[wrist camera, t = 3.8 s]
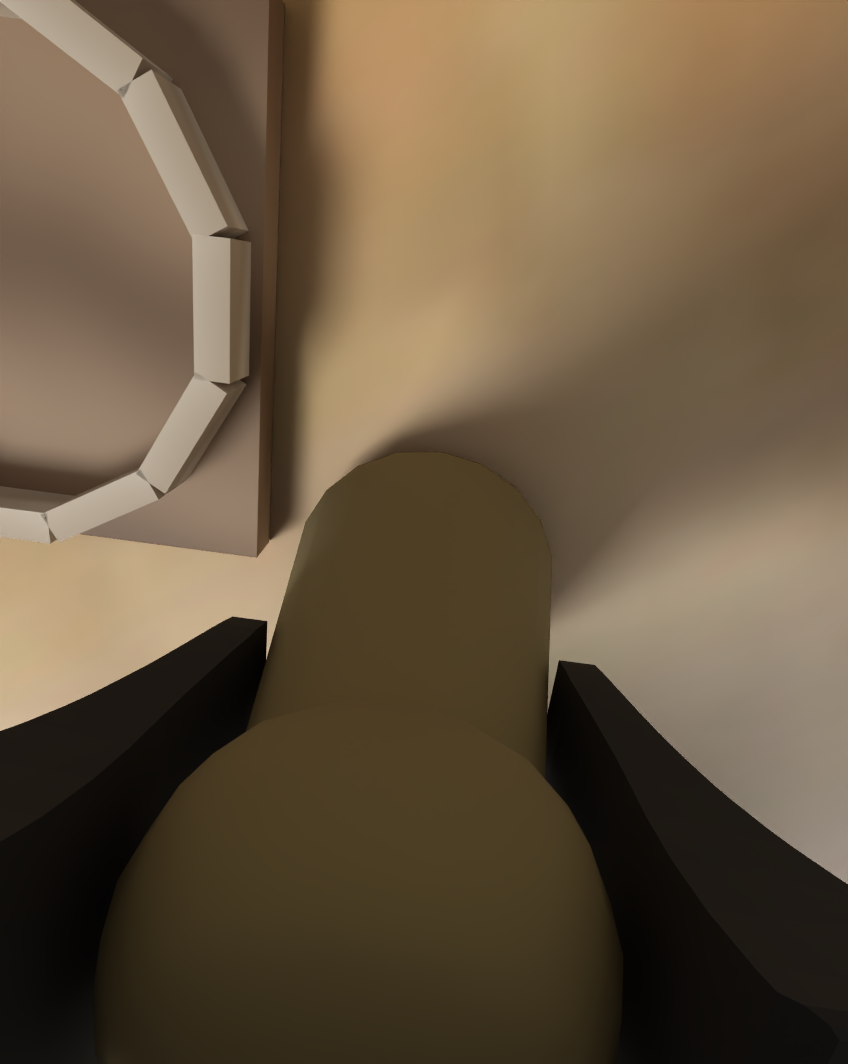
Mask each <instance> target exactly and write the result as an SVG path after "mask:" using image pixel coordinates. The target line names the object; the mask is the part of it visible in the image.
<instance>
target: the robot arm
mask: <svg viewBox="0 0 848 1064" xmlns="http://www.w3.org/2000/svg"><path fill="white" fill-rule="evenodd" d="M266 643H267V621H261V620H254V619H246V618H239V617H231V618H229V619H227V620H225V621H223V622H221V623H219V624H218V625H216V626H214V627H212V628H211V629H209V630H207V631H205V632H204V633H202V634H200V635H199V636H197V637H195V638H194V639H192V640H190V641H189V642H187V643H185V644H183V645H182V646H180V647H178V648H176V649H175V650H173V651H171V652H169V653H168V654H166V655H164V656H162V657H161V658H159V659H157V660H156V661H154V662H152V663H150V664H148V665H147V666H145V667H143V668H141V669H139V670H137V671H135V672H133V673H131V674H129V675H127V676H125V677H123V678H121V679H120V680H118V681H116V682H114V683H112V684H110V685H108V686H106V687H104V688H102V689H100V690H98V691H96V692H94V693H92V694H90V695H88V696H86V697H84V698H81V699H79V700H77V701H75V702H72V703H70V704H68V705H66V706H63V707H61V708H59V709H56V710H54V711H51V712H49V713H47V714H44V715H42V716H39V717H37V718H34V719H32V720H29V721H27V722H24V723H22V724H19V725H16V726H14V727H11V728H8V729H5V730H2V731H0V1064H98V1061H97V1058H96V1055H95V1041H94V1017H93V986H94V979H95V972H96V966H97V959H98V952H99V945H100V938H101V935H102V931H103V928H104V925H105V921H106V918H107V914H108V911H109V907H110V904H111V900H112V897H113V893H114V890H115V886H116V883H117V880H118V879H119V877H120V875H121V874H122V872H123V870H124V869H125V867H126V865H127V864H128V862H129V861H130V859H131V857H132V856H133V854H134V852H135V851H136V849H137V847H138V846H139V844H140V842H141V841H142V839H143V837H144V836H145V834H146V833H147V831H148V830H149V828H150V827H151V825H152V824H153V822H154V821H155V820H156V818H157V817H158V815H159V814H160V812H161V811H162V809H163V808H164V807H165V805H166V804H167V802H168V801H169V799H170V798H171V796H172V795H173V794H174V792H175V791H176V789H177V788H178V786H179V785H180V784H181V783H182V782H183V781H184V780H185V779H186V778H187V777H189V776H190V775H191V774H192V773H193V772H194V771H195V770H196V769H197V768H198V767H199V766H200V765H201V764H202V763H203V762H204V761H206V760H207V759H208V758H209V757H210V756H211V755H212V754H213V753H215V752H216V751H218V750H219V749H221V748H222V747H224V746H225V745H227V744H228V743H230V742H231V741H233V740H234V739H236V738H237V737H239V736H240V735H242V734H243V733H245V732H246V730H247V726H248V723H249V719H250V716H251V712H252V709H253V705H254V702H255V698H256V695H257V691H258V688H259V684H260V681H261V677H262V674H263V670H264V667H265V663H266ZM545 780H546V781H547V782H548V783H549V784H550V786H551V787H552V788H553V789H554V790H555V791H556V792H557V794H558V795H559V796H560V797H561V798H562V799H563V801H564V802H565V803H566V804H567V805H568V807H569V808H570V810H571V812H572V814H573V816H574V817H575V819H576V821H577V823H578V825H579V826H580V828H581V830H582V832H583V834H584V836H585V837H586V839H587V841H588V843H589V845H590V847H591V849H592V852H593V855H594V858H595V861H596V864H597V866H598V869H599V872H600V875H601V878H602V881H603V883H604V886H605V889H606V892H607V895H608V898H609V900H610V903H611V908H612V912H613V916H614V920H615V924H616V928H617V932H618V936H619V941H620V945H621V949H622V953H623V992H622V1020H621V1029H620V1038H619V1046H618V1055H617V1064H848V884H846V883H845V882H843V881H842V880H840V879H839V878H837V877H836V876H834V875H833V874H831V873H830V872H828V871H827V870H825V869H824V868H822V867H821V866H820V865H818V864H817V863H815V862H814V861H812V860H811V859H809V858H808V857H806V856H805V855H803V854H802V853H801V852H799V851H798V850H796V849H795V848H793V847H792V846H790V845H789V844H788V843H786V842H785V841H784V840H782V839H781V838H779V837H778V836H777V835H775V834H774V833H773V832H771V831H770V830H769V829H767V828H766V827H765V826H763V825H762V824H761V823H760V822H758V821H757V820H756V819H755V818H753V817H752V816H751V815H750V814H748V813H747V812H746V811H745V810H743V809H742V808H741V807H740V806H738V805H737V804H736V803H734V802H733V801H732V800H731V799H729V798H728V797H727V796H726V795H725V794H724V793H722V792H721V791H720V790H719V789H718V788H717V787H715V786H714V785H713V784H712V783H711V782H710V781H709V780H708V779H706V778H705V777H704V776H703V775H702V774H701V773H700V772H699V771H698V770H697V769H696V768H694V767H693V766H692V765H691V764H690V763H689V762H688V761H687V760H686V759H685V758H684V757H683V756H682V755H681V754H679V753H678V752H677V751H676V750H675V749H674V748H673V747H672V746H671V745H670V744H669V743H668V742H667V741H666V740H665V739H664V738H663V737H662V736H661V735H660V734H659V733H658V732H657V731H656V730H655V729H654V728H653V726H652V725H651V724H650V723H649V722H648V721H647V720H646V719H645V718H644V717H643V716H642V715H641V714H640V713H639V712H638V711H637V710H636V709H635V707H634V706H633V705H632V704H631V703H630V702H629V701H628V700H627V699H626V698H625V697H624V695H623V694H622V693H621V692H620V691H619V690H618V689H617V688H616V687H615V686H614V685H613V683H612V682H611V681H610V680H609V679H608V678H607V677H606V676H605V675H604V674H603V673H602V672H601V671H600V670H599V669H598V668H597V667H596V666H595V665H590V664H582V663H575V662H567V661H560V660H559V663H558V667H557V672H556V677H555V681H554V686H553V690H552V695H551V699H550V704H549V709H548V713H547V735H546V766H545Z"/></svg>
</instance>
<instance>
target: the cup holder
mask: <svg viewBox="0 0 848 1064" xmlns="http://www.w3.org/2000/svg"><path fill="white" fill-rule="evenodd" d="M284 14H285V4H284V3H283V1H282V0H0V537H4V538H12V539H19V540H27V541H34V542H42V543H49V544H50V543H52V542H54V541H55V540H58V542H61V541H64V540H66V539H68V538H71V537H73V536H75V535H78V534H83V535H90V536H98V537H105V538H113V539H120V540H128V541H135V542H143V543H150V544H158V545H166V546H173V547H181V548H188V549H196V550H203V551H211V552H218V553H226V554H233V555H241V556H248V557H256V558H257V557H258V555H259V554H260V553H261V551H262V550H263V549H264V548H265V546H266V545H267V544H268V542H269V525H270V491H271V457H272V423H273V389H274V355H275V321H276V287H277V253H278V219H279V185H280V150H281V116H282V82H283V48H284Z"/></svg>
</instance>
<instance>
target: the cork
mask: <svg viewBox="0 0 848 1064" xmlns="http://www.w3.org/2000/svg"><path fill="white" fill-rule="evenodd" d="M551 577H552V555H551V551H550V548H549V545H548V542H547V539H546V536H545V533H544V529H543V526H542V523H541V520H540V519H539V517H538V516H537V515H536V513H535V512H534V511H533V509H532V508H531V507H530V505H529V504H528V503H527V501H526V500H525V499H524V498H523V496H522V495H521V494H520V492H519V491H518V490H517V488H516V487H514V486H513V485H511V484H510V483H508V482H507V481H505V480H504V479H502V478H501V477H500V476H498V475H497V474H495V473H494V472H492V471H491V470H489V469H488V468H486V467H485V466H484V465H482V464H479V463H476V462H472V461H469V460H466V459H462V458H459V457H456V456H452V455H449V454H446V453H442V452H406V453H395V454H392V455H389V456H386V457H383V458H380V459H377V460H375V461H372V462H369V463H366V464H363V465H360V466H358V467H356V468H355V469H354V470H352V471H351V472H350V473H348V474H347V475H346V476H344V477H343V478H342V479H341V480H339V481H338V482H337V483H335V484H334V485H333V486H331V487H330V488H329V489H327V490H326V492H325V493H324V495H323V496H322V498H321V499H320V501H319V502H318V504H317V505H316V507H315V509H314V510H313V512H312V513H311V515H310V516H309V518H308V519H307V521H306V523H305V526H304V530H303V533H302V537H301V540H300V544H299V547H298V551H297V554H296V558H295V561H294V565H293V568H292V572H291V575H290V579H289V582H288V586H287V589H286V593H285V596H284V600H283V603H282V607H281V610H280V614H279V617H278V621H277V624H276V628H275V631H274V635H273V638H272V642H271V645H270V649H269V652H268V656H267V660H266V663H265V667H264V670H263V674H262V677H261V681H260V684H259V688H258V691H257V695H256V698H255V702H254V705H253V709H252V712H251V716H250V719H249V723H248V726H247V730H246V732H245V733H243V734H242V735H240V736H239V737H237V738H236V739H234V740H233V741H231V742H230V743H228V744H227V745H225V746H224V747H222V748H221V749H219V750H218V751H216V752H215V753H213V754H212V755H211V756H210V757H209V758H208V759H207V760H206V761H204V762H203V763H202V764H201V765H200V766H199V767H198V768H197V769H196V770H195V771H194V772H193V773H192V774H191V775H190V776H189V777H187V778H186V779H185V780H184V781H183V782H182V783H181V784H180V785H179V786H178V788H177V789H176V791H175V792H174V794H173V795H172V796H171V798H170V799H169V801H168V802H167V804H166V805H165V807H164V808H163V809H162V811H161V812H160V814H159V815H158V817H157V818H156V820H155V821H154V822H153V824H152V825H151V827H150V828H149V830H148V831H147V833H146V834H145V836H144V837H143V839H142V841H141V842H140V844H139V846H138V847H137V849H136V851H135V852H134V854H133V856H132V857H131V859H130V861H129V862H128V864H127V865H126V867H125V869H124V870H123V872H122V874H121V875H120V877H119V879H118V880H117V883H116V886H115V890H114V893H113V897H112V900H111V904H110V907H109V911H108V914H107V918H106V921H105V925H104V928H103V931H102V935H101V938H100V945H99V952H98V959H97V966H96V972H95V979H94V986H93V1017H94V1041H95V1055H96V1058H97V1061H98V1064H617V1055H618V1046H619V1038H620V1029H621V1020H622V992H623V953H622V949H621V945H620V941H619V936H618V932H617V928H616V924H615V920H614V916H613V912H612V908H611V903H610V900H609V898H608V895H607V892H606V889H605V886H604V883H603V881H602V878H601V875H600V872H599V869H598V866H597V864H596V861H595V858H594V855H593V852H592V849H591V847H590V845H589V843H588V841H587V839H586V837H585V836H584V834H583V832H582V830H581V828H580V826H579V825H578V823H577V821H576V819H575V817H574V816H573V814H572V812H571V810H570V808H569V807H568V805H567V804H566V803H565V802H564V801H563V799H562V798H561V797H560V796H559V795H558V794H557V792H556V791H555V790H554V789H553V788H552V787H551V786H550V784H549V783H548V782H547V781H546V780H545V766H546V735H547V703H548V672H549V640H550V609H551Z"/></svg>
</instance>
